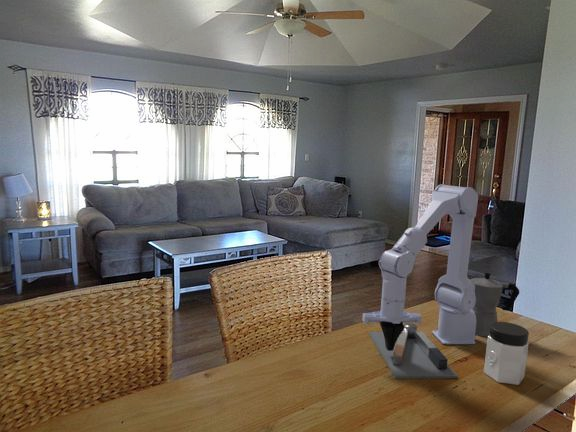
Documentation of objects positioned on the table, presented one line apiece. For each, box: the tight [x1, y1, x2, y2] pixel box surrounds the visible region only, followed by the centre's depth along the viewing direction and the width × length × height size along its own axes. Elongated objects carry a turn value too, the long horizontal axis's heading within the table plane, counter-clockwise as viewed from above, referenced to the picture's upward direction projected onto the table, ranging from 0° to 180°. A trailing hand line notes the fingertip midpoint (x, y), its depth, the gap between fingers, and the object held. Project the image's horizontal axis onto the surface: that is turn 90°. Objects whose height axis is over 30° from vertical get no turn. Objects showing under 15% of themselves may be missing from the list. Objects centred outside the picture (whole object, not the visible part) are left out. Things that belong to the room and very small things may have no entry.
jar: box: [483, 321, 530, 386], centre depth 103 cm, size 9×8×12 cm
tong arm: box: [392, 322, 418, 365], centre depth 114 cm, size 20×4×3 cm, turn 159°
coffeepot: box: [469, 272, 520, 338], centre depth 127 cm, size 15×9×18 cm, turn 70°
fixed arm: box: [414, 330, 448, 369], centre depth 111 cm, size 16×2×2 cm, turn 4°
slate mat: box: [368, 331, 458, 379], centre depth 113 cm, size 24×15×1 cm, turn 4°
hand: (389, 348), depth 110 cm, fingers closed
